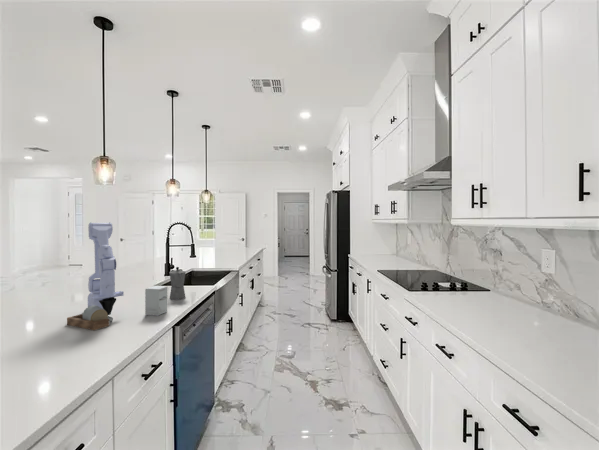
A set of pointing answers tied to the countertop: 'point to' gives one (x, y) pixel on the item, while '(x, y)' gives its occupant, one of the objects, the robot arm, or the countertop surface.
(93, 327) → the rail
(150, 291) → the supplement box
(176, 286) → the coffeepot
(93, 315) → the ceramic mug
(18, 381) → the countertop surface
